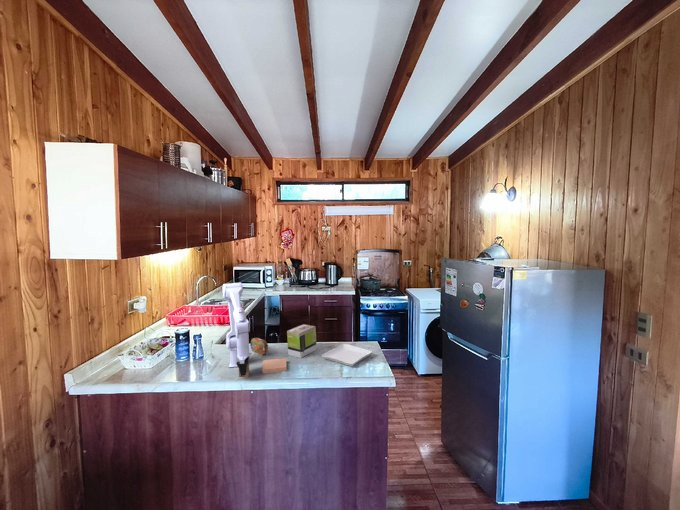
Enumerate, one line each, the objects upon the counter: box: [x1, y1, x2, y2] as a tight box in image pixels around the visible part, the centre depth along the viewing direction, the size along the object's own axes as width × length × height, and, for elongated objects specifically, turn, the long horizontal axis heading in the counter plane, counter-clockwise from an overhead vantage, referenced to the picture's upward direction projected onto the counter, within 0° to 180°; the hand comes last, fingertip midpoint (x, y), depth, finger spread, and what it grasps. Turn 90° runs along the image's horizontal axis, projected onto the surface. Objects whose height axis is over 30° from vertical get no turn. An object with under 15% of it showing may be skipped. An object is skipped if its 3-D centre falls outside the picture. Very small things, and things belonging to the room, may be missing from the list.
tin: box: [249, 337, 269, 356], centre depth 191 cm, size 15×3×8 cm, turn 48°
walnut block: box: [238, 362, 250, 378], centre depth 162 cm, size 4×4×6 cm
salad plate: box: [321, 343, 373, 367], centre depth 182 cm, size 21×21×3 cm
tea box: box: [286, 324, 318, 359], centre depth 190 cm, size 15×10×15 cm
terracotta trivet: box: [262, 357, 288, 374], centre depth 171 cm, size 12×12×2 cm
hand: (244, 371), depth 162 cm, fingers open, 7 cm apart
